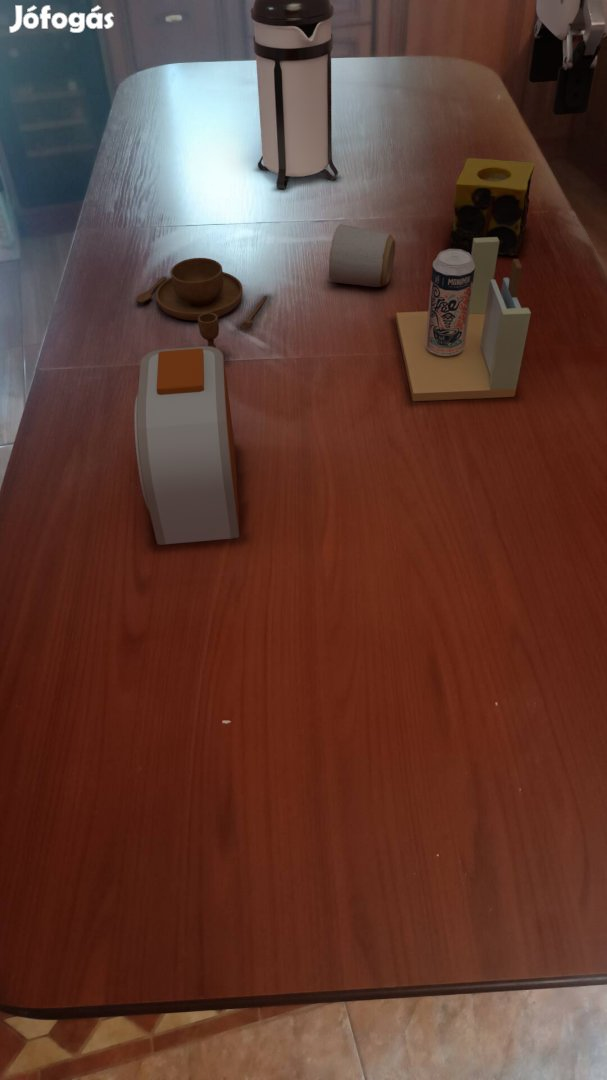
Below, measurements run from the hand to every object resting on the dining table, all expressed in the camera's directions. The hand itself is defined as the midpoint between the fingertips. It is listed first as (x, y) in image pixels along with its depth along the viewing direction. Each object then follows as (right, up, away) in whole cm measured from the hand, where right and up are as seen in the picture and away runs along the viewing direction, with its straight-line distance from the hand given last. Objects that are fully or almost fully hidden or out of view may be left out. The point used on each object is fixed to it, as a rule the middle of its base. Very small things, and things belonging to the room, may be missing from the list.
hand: (555, 96), depth 81 cm
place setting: (-41, -15, +28) cm, 52 cm away
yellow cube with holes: (+3, +1, +41) cm, 41 cm away
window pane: (-2, -23, +16) cm, 28 cm away
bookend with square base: (-7, -22, +19) cm, 30 cm away
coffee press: (-27, +20, +61) cm, 70 cm away
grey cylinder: (-17, -7, +34) cm, 39 cm away
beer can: (-8, -21, +18) cm, 29 cm away
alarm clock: (-37, -40, +3) cm, 54 cm away
